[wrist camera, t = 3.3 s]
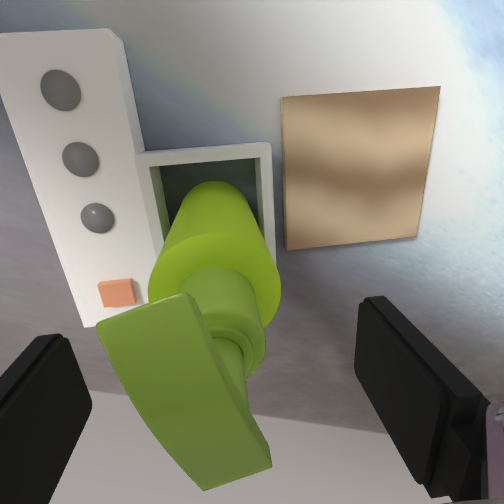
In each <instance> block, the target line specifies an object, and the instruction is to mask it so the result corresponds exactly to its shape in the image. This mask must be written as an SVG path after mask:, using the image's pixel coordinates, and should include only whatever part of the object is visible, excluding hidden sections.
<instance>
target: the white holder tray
mask: <svg viewBox="0 0 504 504" xmlns="http://www.w3.org/2000/svg"><path fill="white" fill-rule="evenodd" d="M0 95H1V98H2V101H3V103H4V106H5V109H6V112H7V114H8V117H9V120H10V123H11V126H12V128H13V131H14V134H15V137H16V139H17V142H18V145H19V148H20V151H21V153H22V156H23V159H24V162H25V164H26V167H27V170H28V173H29V175H30V178H31V181H32V184H33V187H34V189H35V192H36V195H37V198H38V200H39V203H40V206H41V209H42V212H43V214H44V217H45V220H46V223H47V225H48V228H49V231H50V234H51V236H52V239H53V242H54V245H55V248H56V250H57V253H58V256H59V259H60V261H61V264H62V267H63V270H64V273H65V275H66V278H67V281H68V284H69V286H70V289H71V292H72V295H73V297H74V300H75V303H76V306H77V309H78V311H79V314H80V317H81V320H82V322H83V325H84V328H85V327H93V326H96V323H98V322H99V321H101V320H104V319H107V318H109V317H112V316H115V315H117V314H120V313H123V312H125V311H128V310H131V309H133V308H136V307H139V306H141V305H144V304H147V303H149V302H148V294H147V290H148V282H149V278H150V275H151V272H152V270H153V268H154V265H155V263H156V261H157V258H158V256H159V254H160V252H161V249H162V247H163V245H164V242H165V240H166V238H167V236H168V233H169V231H170V229H171V228H170V222H169V217H168V212H167V206H166V201H165V196H164V191H163V185H162V180H161V175H160V169H159V166H164V165H176V164H188V163H200V162H211V161H223V160H235V159H247V158H254V159H255V175H256V191H257V207H258V222H259V229H260V232H261V234H262V236H263V238H264V241H265V243H266V245H267V248H268V250H269V252H270V254H271V257H272V259H273V261H274V264H275V266H276V245H275V221H274V197H273V172H272V148H271V144H270V143H266V142H254V143H242V144H229V145H217V146H204V147H192V148H180V149H167V150H155V151H145V148H144V143H143V138H142V133H141V128H140V123H139V118H138V113H137V108H136V103H135V98H134V93H133V88H132V83H131V78H130V73H129V68H128V64H127V59H126V54H125V49H124V44H123V41H122V40H121V39H120V38H119V37H117V36H116V35H115V34H114V33H113V32H112V31H111V30H110V29H109V28H96V29H75V30H54V31H33V32H12V33H0Z"/></svg>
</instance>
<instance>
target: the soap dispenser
mask: <svg viewBox="0 0 504 504" xmlns="http://www.w3.org/2000/svg"><path fill="white" fill-rule="evenodd" d="M147 294H148V302H149V303H147V304H144V305H141V306H139V307H136V308H133V309H131V310H128V311H125V312H123V313H120V314H117V315H115V316H112V317H109V318H107V319H104V320H101V321H99V322H98V323H96V330H97V333H98V335H99V338H100V340H101V342H102V345H103V347H104V349H105V351H106V353H107V355H108V357H109V359H110V361H111V363H112V365H113V367H114V369H115V371H116V373H117V375H118V377H119V379H120V381H121V383H122V385H123V387H124V388H125V390H126V392H127V394H128V396H129V397H130V399H131V401H132V403H133V404H134V406H135V408H136V409H137V411H138V412H139V414H140V416H141V417H142V419H143V420H144V421H145V423H146V425H147V426H148V428H149V429H150V430H151V432H152V433H153V434H154V436H155V437H156V438H157V440H158V441H159V442H160V444H161V445H162V446H163V447H164V449H165V450H166V451H167V452H168V453H169V455H170V456H171V457H172V458H173V459H174V460H175V461H176V462H177V464H178V465H179V466H180V467H181V468H182V469H183V470H184V471H185V472H186V474H187V475H188V476H189V477H190V478H191V479H192V480H193V481H194V482H195V483H196V484H197V485H198V486H199V487H200V488H201V489H202V490H203V491H205V490H209V489H212V488H215V487H217V486H220V485H223V484H226V483H229V482H232V481H234V480H237V479H240V478H243V477H246V476H249V475H252V474H255V473H258V472H261V471H264V470H266V469H269V468H271V467H272V461H271V455H270V449H269V445H268V443H267V441H266V440H265V438H264V436H263V434H262V432H261V431H260V429H259V427H258V425H257V423H256V421H255V420H254V418H253V416H252V414H251V412H250V410H249V403H248V395H247V386H246V378H248V377H249V376H250V375H252V374H253V373H254V372H255V371H256V370H257V368H258V367H259V366H260V364H261V362H262V360H263V358H264V355H265V350H266V340H265V334H264V330H263V329H264V328H265V327H266V326H267V325H268V324H269V323H270V321H271V320H272V319H273V317H274V315H275V313H276V311H277V309H278V306H279V303H280V298H281V281H280V277H279V273H278V271H277V268H276V266H275V264H274V261H273V259H272V257H271V254H270V252H269V250H268V248H267V245H266V243H265V241H264V238H263V236H262V234H261V232H260V229H259V227H258V225H257V222H256V220H255V218H254V216H253V213H252V211H251V209H250V207H249V204H248V202H247V200H246V198H245V196H244V195H243V194H242V193H241V191H240V190H238V189H237V188H236V187H235V186H233V185H231V184H229V183H226V182H223V181H206V182H203V183H200V184H198V185H196V186H195V187H193V188H192V189H191V190H190V191H189V192H188V193H187V194H186V196H185V197H184V199H183V201H182V204H181V206H180V208H179V210H178V213H177V215H176V217H175V220H174V222H173V224H172V226H171V229H170V231H169V233H168V236H167V238H166V240H165V242H164V245H163V247H162V249H161V252H160V254H159V256H158V258H157V261H156V263H155V265H154V268H153V270H152V272H151V275H150V278H149V282H148V290H147Z"/></svg>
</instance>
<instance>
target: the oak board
mask: <svg viewBox="0 0 504 504" xmlns="http://www.w3.org/2000/svg"><path fill="white" fill-rule="evenodd" d="M440 87H441V86H435V87H421V88H406V89H392V90H377V91H363V92H348V93H334V94H320V95H305V96H291V97H282V98H281V133H282V169H283V205H284V240H285V248H286V249H287V250H296V249H305V248H314V247H323V246H332V245H342V244H351V243H360V242H369V241H378V240H387V239H396V238H405V237H414V236H417V230H418V224H419V218H420V212H421V206H422V199H423V193H424V187H425V181H426V174H427V168H428V162H429V156H430V150H431V143H432V137H433V131H434V125H435V118H436V112H437V106H438V100H439V94H440Z"/></svg>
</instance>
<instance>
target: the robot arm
mask: <svg viewBox="0 0 504 504" xmlns="http://www.w3.org/2000/svg"><path fill="white" fill-rule="evenodd" d="M354 369H355V373H356V376H357V378H358V380H359V382H360V383H361V385H362V387H363V389H364V391H365V392H366V394H367V396H368V398H369V399H370V401H371V403H372V405H373V407H374V408H375V410H376V412H377V414H378V416H379V417H380V419H381V421H382V423H383V424H384V426H385V428H386V430H387V432H388V433H389V435H390V437H391V439H392V441H393V442H394V444H395V446H396V448H397V449H398V451H399V453H400V455H401V457H402V458H403V460H404V462H405V464H406V466H407V467H408V469H409V471H410V473H411V474H412V476H413V478H414V479H415V481H416V482H417V483H418V484H423V485H424V487H425V488H426V490H427V492H428V494H429V496H430V497H431V498H436V497H443V496H449V497H450V498H451V500H452V501H453V502H451V503H444V504H504V400H500V401H496V402H492V403H490V402H489V401H488V400H487V399H486V398H485V397H484V396H483V395H482V393H481V392H480V391H479V390H478V389H477V388H476V387H475V386H474V385H473V384H472V383H471V382H470V381H469V380H468V379H467V378H466V377H465V376H464V375H463V374H462V373H461V372H460V371H459V370H458V369H457V368H456V367H455V366H454V365H453V364H452V363H451V362H450V361H449V360H448V359H447V358H446V357H445V356H444V355H443V354H442V353H441V352H440V351H439V350H438V349H437V348H436V347H435V346H434V345H433V344H432V343H431V342H430V341H429V340H428V339H427V338H426V337H425V336H424V335H423V334H422V333H421V332H420V331H419V330H418V329H417V328H416V327H415V326H414V325H413V324H412V323H411V322H410V321H409V320H408V319H407V318H406V317H405V316H404V315H403V314H402V313H401V312H400V311H399V310H398V309H397V308H396V307H395V306H394V305H393V304H392V303H391V302H390V301H389V300H388V299H387V298H386V297H384V296H375V297H366V298H365V299H364V301H363V302H361V303H360V304H359V309H358V322H357V335H356V348H355V361H354ZM91 409H92V400H91V397H90V394H89V392H88V389H87V386H86V384H85V381H84V379H83V376H82V373H81V371H80V368H79V365H78V363H77V360H76V357H75V355H74V352H73V350H72V347H71V344H70V342H69V340H68V339H67V338H63V336H62V335H61V334H50V335H42V336H37V337H36V338H35V339H34V340H33V341H32V342H31V343H30V344H29V346H28V347H27V348H26V349H25V350H24V351H23V352H22V353H21V354H20V356H19V357H18V358H17V359H16V360H15V361H14V362H13V363H12V364H11V365H10V367H9V368H8V369H7V370H6V371H5V372H4V373H3V374H2V375H1V377H0V504H49V502H50V500H51V497H52V495H53V493H54V491H55V489H56V487H57V484H58V482H59V480H60V478H61V476H62V474H63V471H64V469H65V467H66V465H67V463H68V461H69V459H70V456H71V454H72V452H73V450H74V448H75V446H76V443H77V441H78V439H79V437H80V435H81V432H82V430H83V428H84V426H85V424H86V422H87V420H88V417H89V415H90V412H91Z"/></svg>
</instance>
